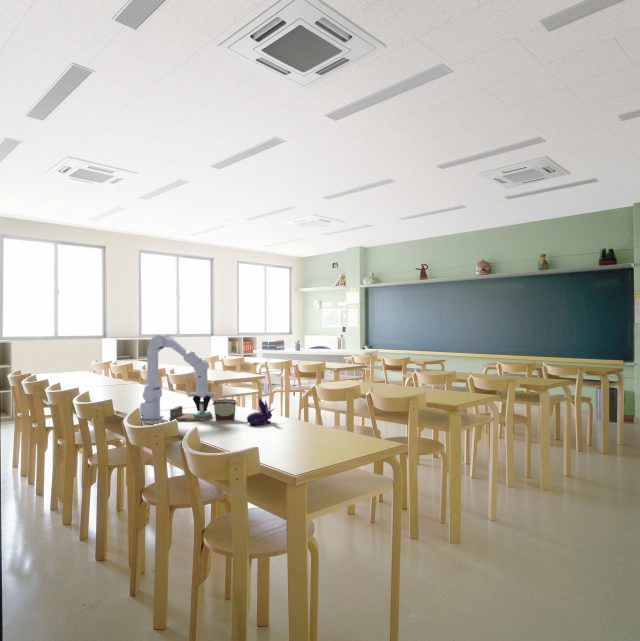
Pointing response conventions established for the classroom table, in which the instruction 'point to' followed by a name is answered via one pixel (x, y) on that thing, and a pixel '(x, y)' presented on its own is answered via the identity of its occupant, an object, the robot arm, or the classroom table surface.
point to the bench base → (185, 415)
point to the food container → (225, 409)
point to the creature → (260, 415)
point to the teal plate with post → (201, 411)
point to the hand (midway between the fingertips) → (202, 410)
